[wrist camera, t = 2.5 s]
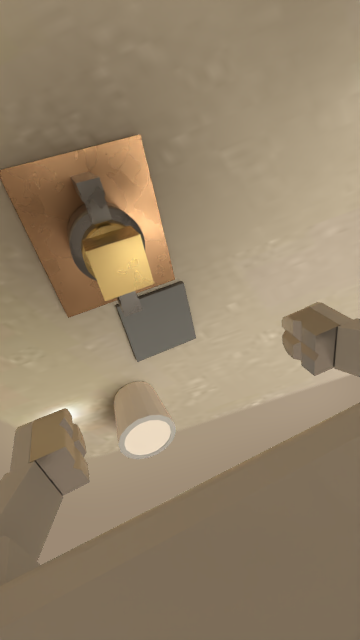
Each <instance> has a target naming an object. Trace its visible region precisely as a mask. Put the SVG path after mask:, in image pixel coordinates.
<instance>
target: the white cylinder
mask: <svg viewBox="0 0 360 640" xmlns="http://www.w3.org/2000/svg"><path fill="white" fill-rule="evenodd" d="M114 410H115V419H116V428H117V437H118V445H119V448H120V451H121V453H123V454H124V455H125V456H127V457H129V458H134V459H142V458H148V457H151V456H154V455H156V454H158V453H160V452H161V451H162V450H164V449H165V448H167V447H168V445H169V444H170V443H171V442H172V440H173V439H174V436H175V433H176V427H175V423H174V421H173V420H172V418H171V416H170V415H169V413H168V411H167V410H166V408H165V406H164V405H163V403H162V401H161V400H160V398H159V396H158V395H157V393H156V391H155V390H154V388H153V387H152V386H151V385H150V384H148V383H145V382H132V383H129V384H127V385H125V386H124V387H122V388H121V389H120V390H119V391H118V392H117V394H116V395H115V399H114Z"/></svg>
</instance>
